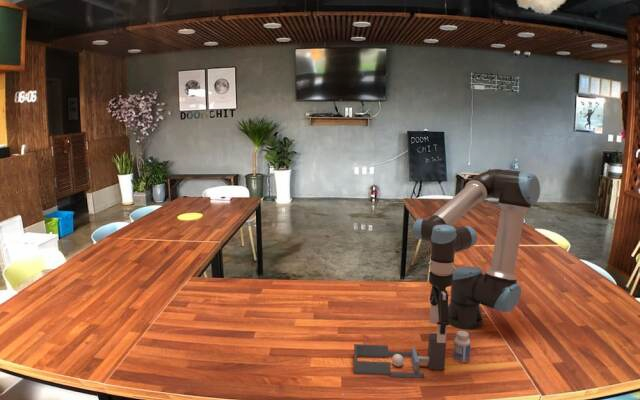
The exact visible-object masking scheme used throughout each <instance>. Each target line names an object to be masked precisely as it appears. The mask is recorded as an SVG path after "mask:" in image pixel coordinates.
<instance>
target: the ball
mask: <svg viewBox="0 0 640 400" xmlns="http://www.w3.org/2000/svg"><path fill="white" fill-rule="evenodd" d="M391 363H392V364H393V365H394V366H395V367H401V366H402V365H404V356H401V355H400V354H395V355H394V356H391Z"/></svg>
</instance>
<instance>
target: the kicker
mask: <svg viewBox="0 0 640 400" xmlns="http://www.w3.org/2000/svg"><path fill="white" fill-rule="evenodd" d="M446 348H447V342H446V343H437V333H432V332H431V333H428V347H427V356H422V355H419V356H417V350H416V347H411V352H412V357H411V362H412V366H413V370H414V373H420V372H419V371H420V370H419V368H420V364H427V365H428V369H429V370H439V371H441V370H443V371H444V370H445V366H446V351H447V349H446Z"/></svg>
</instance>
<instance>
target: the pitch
mask: <svg viewBox="0 0 640 400" xmlns="http://www.w3.org/2000/svg"><path fill="white" fill-rule="evenodd" d="M416 352H417V351H416ZM395 354H400V355H401V356H402V357H412V351H391V350H389V346H388V345H387V344H386V345H385V344H358V343H356V344H353V374H362V375H363V374H365V375H381V376H382V375H384V376H385V375H386V376H390V377H391V378H411V379H412V378H413V379H417V378H418V379H425V373H424V372H419V373H415V372H407V371H406V372H405V371H391V363H392V362H388V361H369V360H367V361H366V360H365V361H364V360H358V357H372V358H376V357H379V358H388V357H393V356H394V355H395ZM417 356H420V355H419V352H417Z"/></svg>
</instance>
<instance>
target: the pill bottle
mask: <svg viewBox="0 0 640 400" xmlns="http://www.w3.org/2000/svg"><path fill="white" fill-rule="evenodd" d="M469 335H470V334H469V332H467V331H465V330H458V331H456V337H454V342H453V359H454V360H455V361H457V362H459V363H467V362H469V361H470V356H471V354H470V353H471V339H469Z"/></svg>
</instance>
